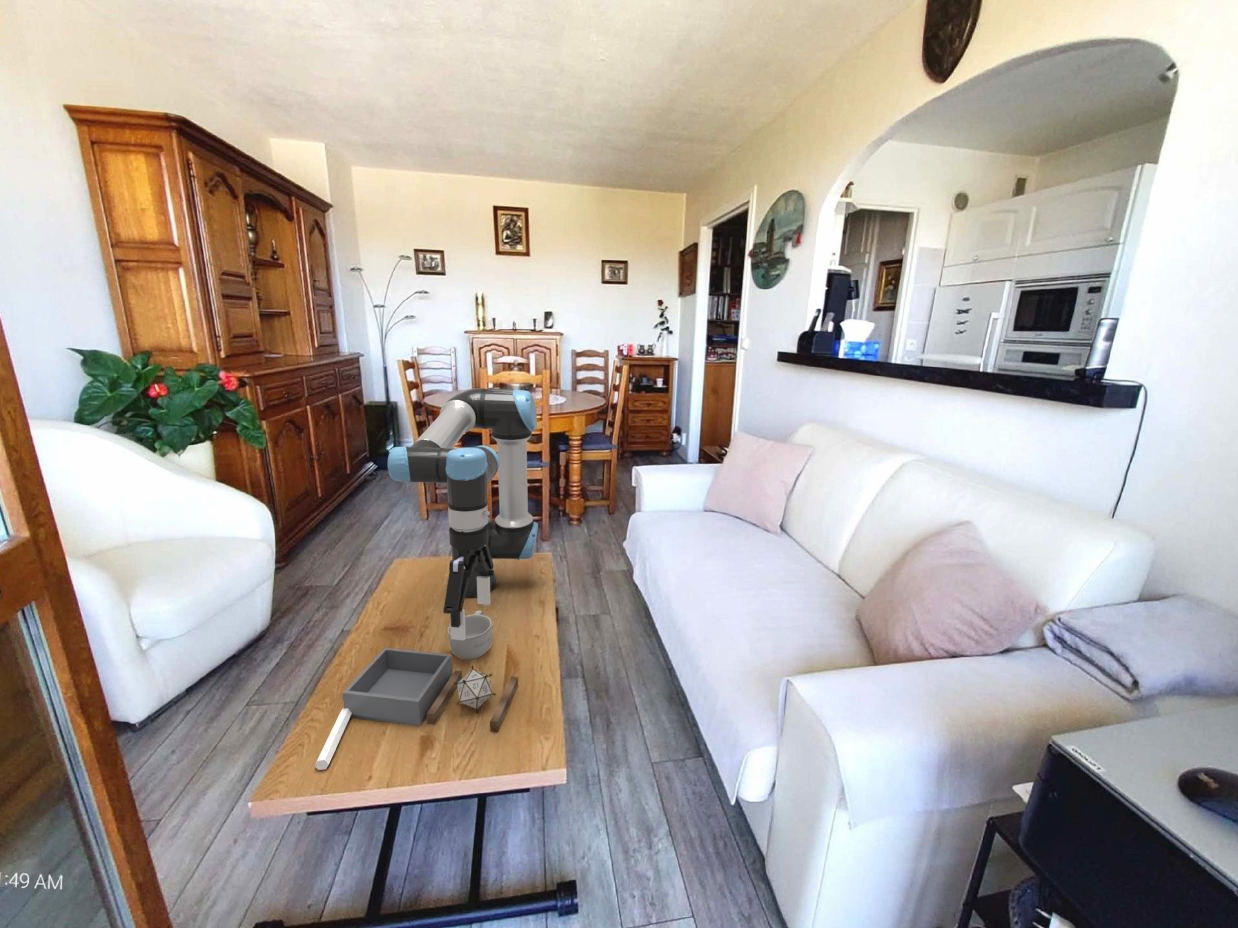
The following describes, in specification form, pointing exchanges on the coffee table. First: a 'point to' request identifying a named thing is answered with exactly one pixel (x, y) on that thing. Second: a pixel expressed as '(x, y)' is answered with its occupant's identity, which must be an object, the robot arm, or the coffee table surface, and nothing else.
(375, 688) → the bin
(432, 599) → the coffee table surface
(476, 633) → the teacup
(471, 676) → the game die
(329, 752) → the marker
